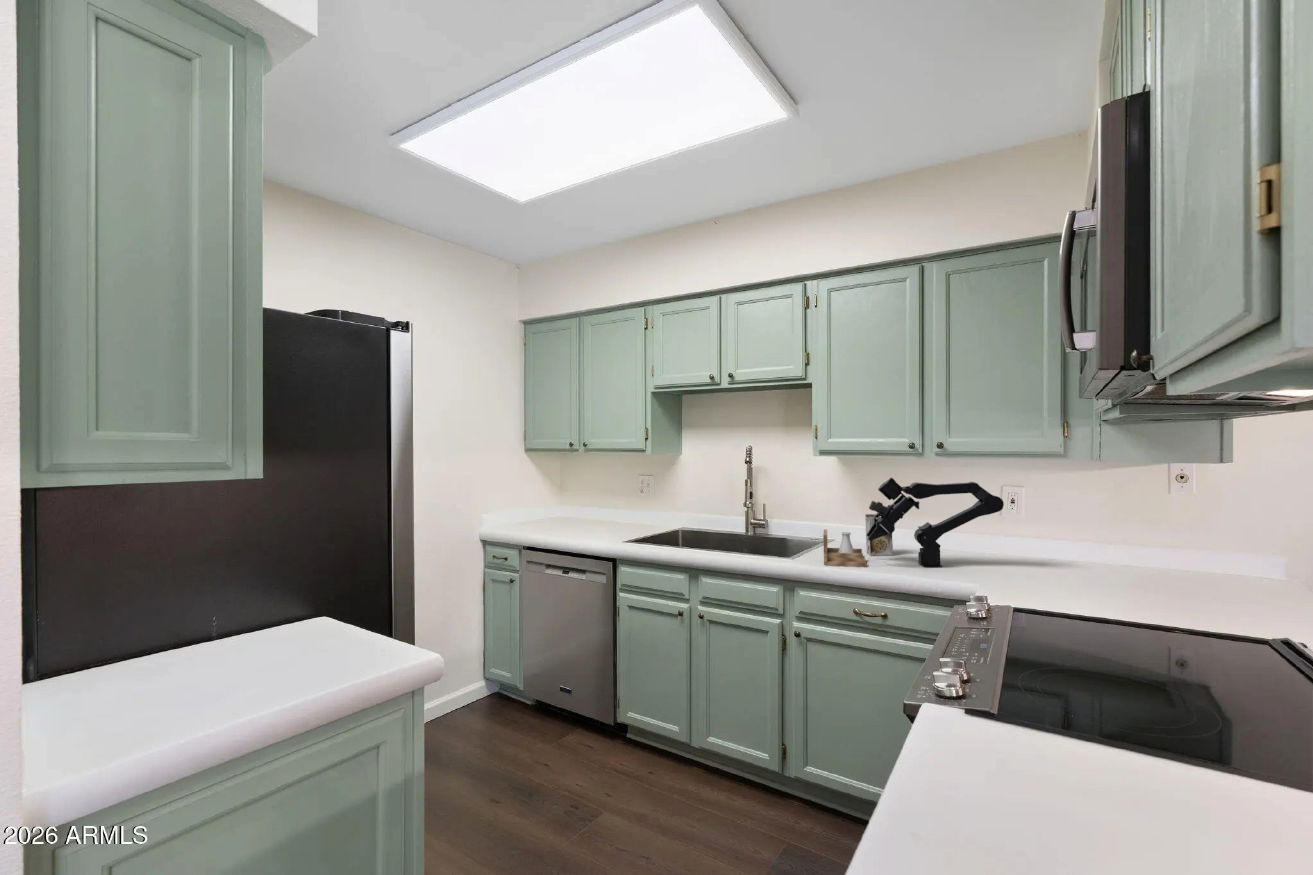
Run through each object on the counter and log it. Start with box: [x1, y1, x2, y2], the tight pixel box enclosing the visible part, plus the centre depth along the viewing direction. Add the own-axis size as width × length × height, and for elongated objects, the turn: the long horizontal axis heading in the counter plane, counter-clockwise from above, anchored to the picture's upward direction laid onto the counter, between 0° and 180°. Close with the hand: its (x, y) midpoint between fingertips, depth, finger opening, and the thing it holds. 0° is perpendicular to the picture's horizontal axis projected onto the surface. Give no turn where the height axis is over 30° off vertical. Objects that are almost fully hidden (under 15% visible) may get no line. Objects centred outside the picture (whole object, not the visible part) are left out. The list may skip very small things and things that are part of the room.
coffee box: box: [865, 513, 894, 557], centre depth 243 cm, size 9×6×16 cm
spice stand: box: [822, 529, 867, 568], centre depth 229 cm, size 15×14×12 cm
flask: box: [838, 531, 855, 553], centre depth 229 cm, size 7×7×10 cm
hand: (868, 537), depth 226 cm, fingers open, 9 cm apart
